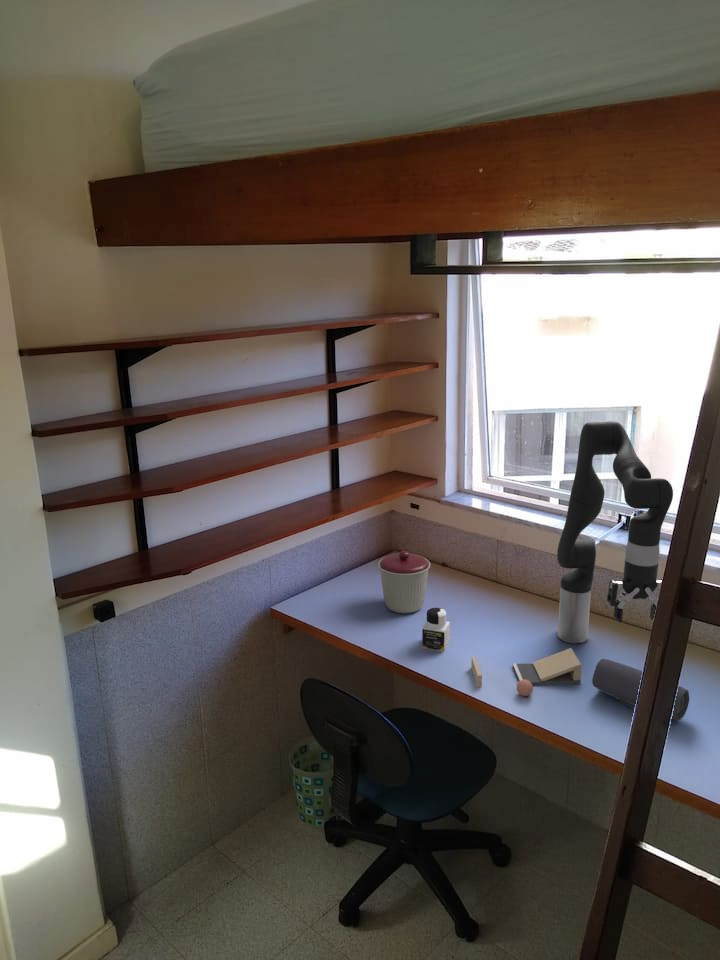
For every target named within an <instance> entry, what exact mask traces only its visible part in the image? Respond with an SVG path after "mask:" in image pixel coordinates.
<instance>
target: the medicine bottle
mask: <svg viewBox="0 0 720 960" xmlns="http://www.w3.org/2000/svg"><path fill="white" fill-rule="evenodd" d="M421 631H422V632H421V633H422V637H421V639H422V643H421V644H422V645H421V648H423V649H425V650H431V651H437V652H441V653H442V652H443V653H444V652H445V651H446V649H447V648H448V646H449V644H450V641H451V639H450V637H451V622H450V621H447V612H446V610H445V609H443V608H441V607H431V608H429V609H428V610H427V611H426V622H425V623H424V625H423V627H422V628H421Z"/></svg>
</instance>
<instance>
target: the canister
mask: <svg viewBox="0 0 720 960" xmlns="http://www.w3.org/2000/svg"><path fill="white" fill-rule="evenodd" d="M377 566H378V569H379V570H380V578H381V587H382V594H383V600H384V604H385V606H386V607H387V608H388V610H390V611H392V612H394V613H397V614H411V613H416V612H417V611H419V610H420V609H421V608H422V607H423V605H424V602H425V597H426V591H427V590H426V589H427V582H428V575H429V569H430V568H431V562H430V561H429V560H428V559H427V558H425V557H423V556H422V555H419V554H416V553H411V552H409V551H407V550H401V551H400V552H397V553H396V552H395V553H392V554H388V555H386V556H384V557H383V558H381V559H380V560H379V561H378V563H377Z"/></svg>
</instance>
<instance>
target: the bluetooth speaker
mask: <svg viewBox="0 0 720 960" xmlns="http://www.w3.org/2000/svg"><path fill="white" fill-rule="evenodd" d="M642 671H643V670H641V669H637V668H635V667H632V666H629V665H627V664H623V663H620V662H618V661H614V660H610V659H606V658H601V659H600V660H599V661H598V662H597V664H596V665H595V668H594V673H593V676H592V681H591V682H592V685H593V687H594V688H596V689H598V690H599V691H602V692H603V693H606V694H608V695H610V696H612V697H614V698H616V699H618V702H620V703H621V704H624V705H626V706H628V707H631V708H633V709H635V708H634V707H635V704H636V700H637V695H638V689H639V685H640V680H641V675H642ZM678 686H679V687H678V692H677V696H676V700H675V705H674V711H673V716H672V719H671V720H674V721H676V722H677V721H678V722H680V721H681V720H682V719H683V717H684V716H685V714H686V712H687V710H688V707H689V704H690V692H689V690H688V689H686V688H684V687H683V686H681V685H678Z"/></svg>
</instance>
